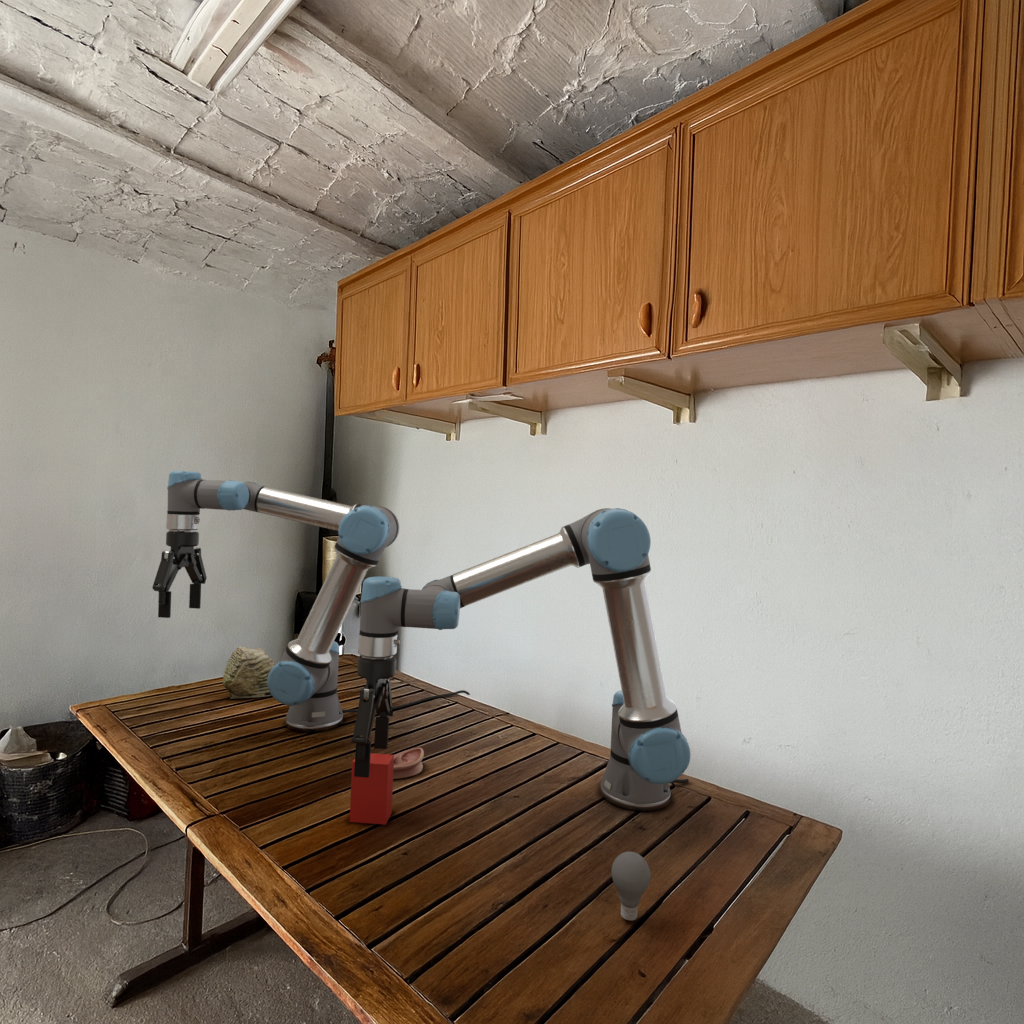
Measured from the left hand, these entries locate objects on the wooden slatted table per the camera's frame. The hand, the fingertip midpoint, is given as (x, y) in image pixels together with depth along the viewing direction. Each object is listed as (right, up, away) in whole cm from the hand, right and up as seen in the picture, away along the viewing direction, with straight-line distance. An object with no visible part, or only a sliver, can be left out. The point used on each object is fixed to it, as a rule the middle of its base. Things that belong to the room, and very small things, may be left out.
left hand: (180, 612), depth 164 cm
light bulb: (+104, -37, -65) cm, 129 cm away
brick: (+58, -35, -38) cm, 77 cm away
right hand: (+58, -24, -38) cm, 73 cm away
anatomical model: (+58, -34, -16) cm, 69 cm away
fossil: (+5, -31, +34) cm, 46 cm away
